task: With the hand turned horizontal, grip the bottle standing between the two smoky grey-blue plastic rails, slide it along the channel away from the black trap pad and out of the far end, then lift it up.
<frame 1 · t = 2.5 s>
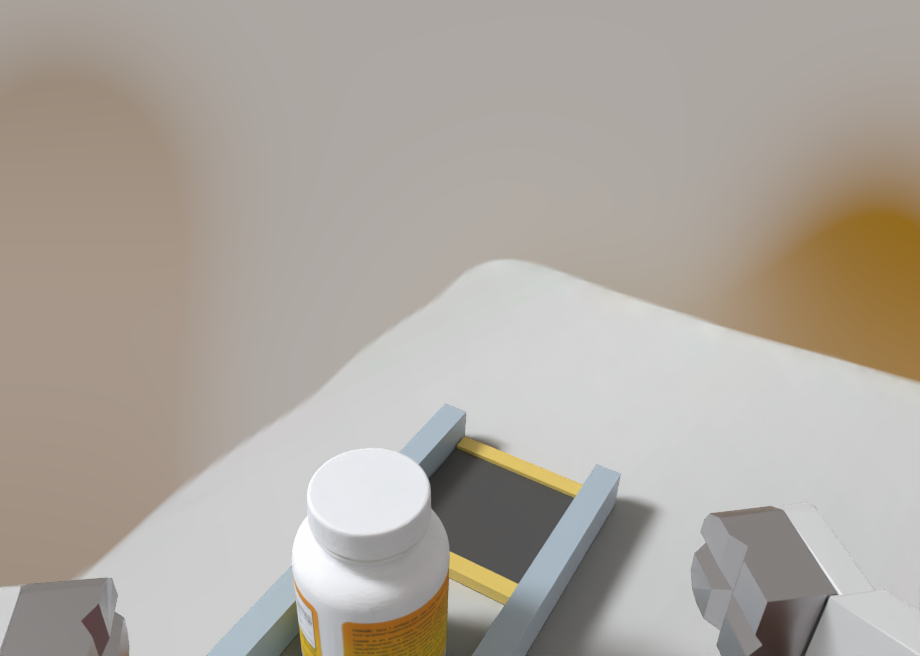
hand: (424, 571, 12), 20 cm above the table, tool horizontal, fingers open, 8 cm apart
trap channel: (390, 648, 34), on the table
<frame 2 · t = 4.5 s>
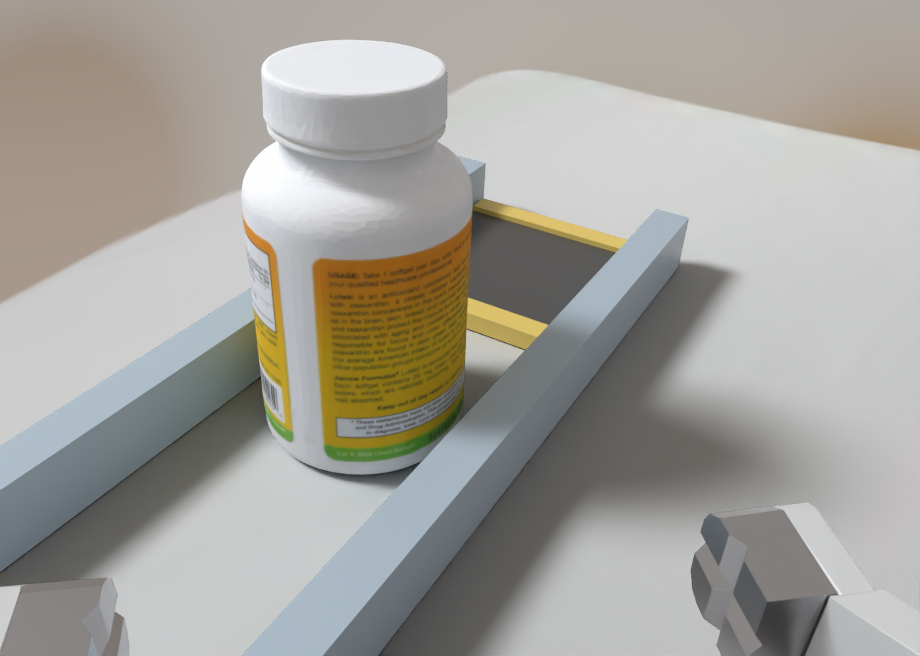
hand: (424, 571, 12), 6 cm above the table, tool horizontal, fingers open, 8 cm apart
supplement bottle: (365, 419, 24), resting in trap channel
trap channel: (385, 394, 25), on the table
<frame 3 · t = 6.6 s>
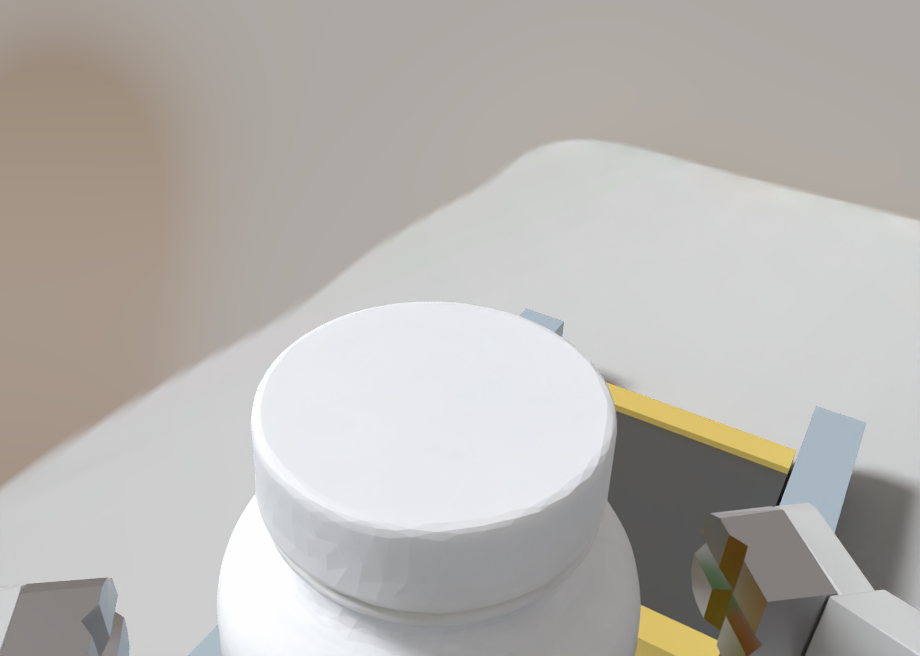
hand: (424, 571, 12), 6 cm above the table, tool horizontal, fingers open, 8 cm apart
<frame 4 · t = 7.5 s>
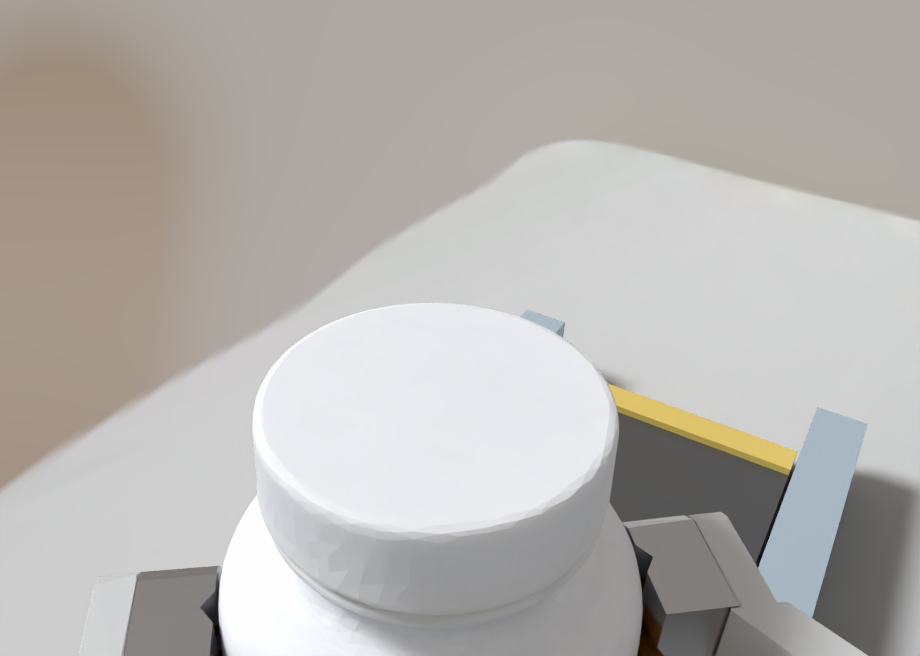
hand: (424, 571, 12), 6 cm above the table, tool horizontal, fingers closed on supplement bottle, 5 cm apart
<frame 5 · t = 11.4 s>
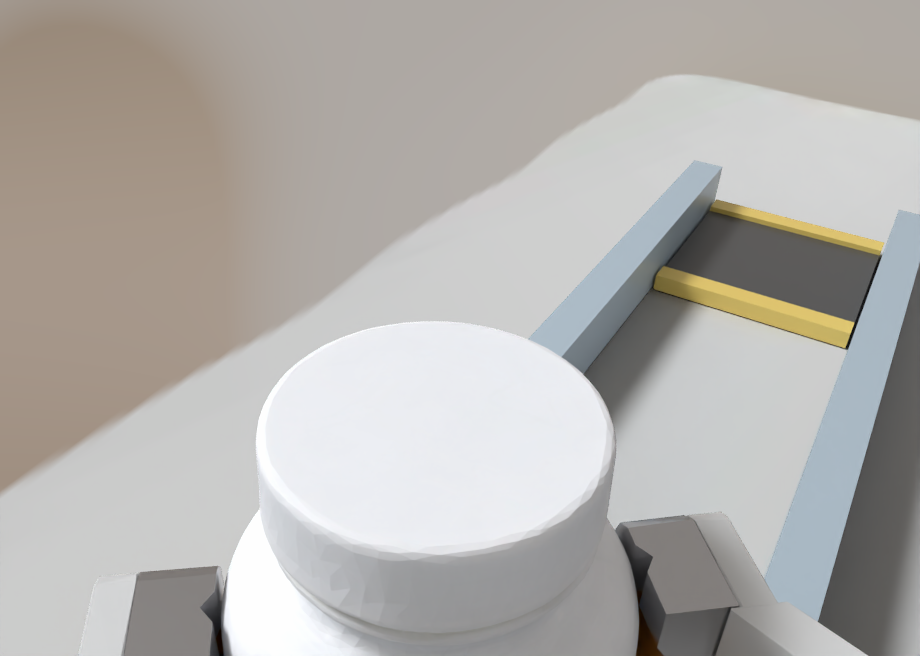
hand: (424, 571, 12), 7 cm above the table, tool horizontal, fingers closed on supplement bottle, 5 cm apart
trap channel: (710, 378, 27), on the table
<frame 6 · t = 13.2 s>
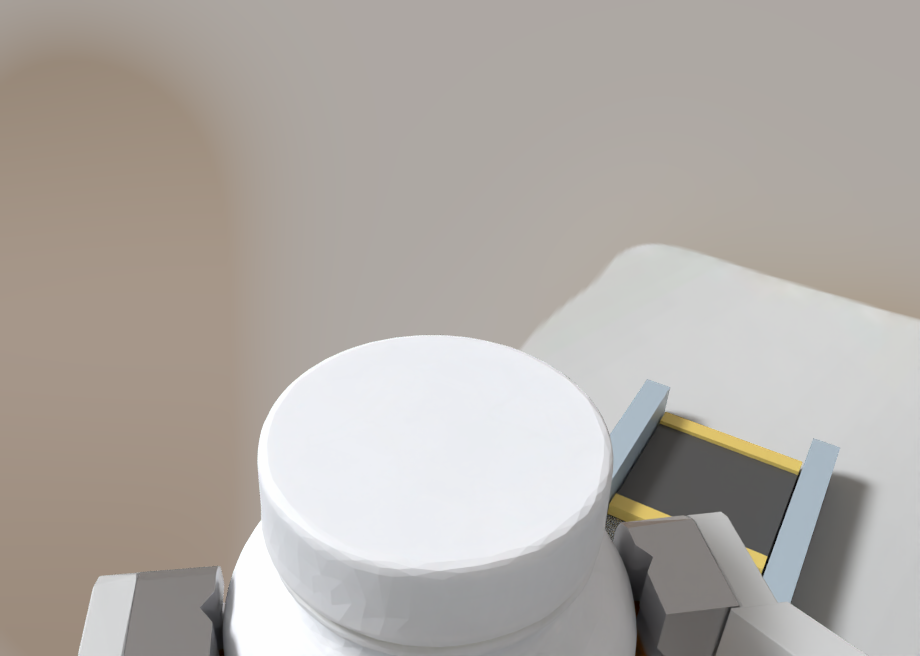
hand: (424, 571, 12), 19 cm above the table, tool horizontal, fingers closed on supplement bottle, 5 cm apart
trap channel: (647, 614, 34), on the table
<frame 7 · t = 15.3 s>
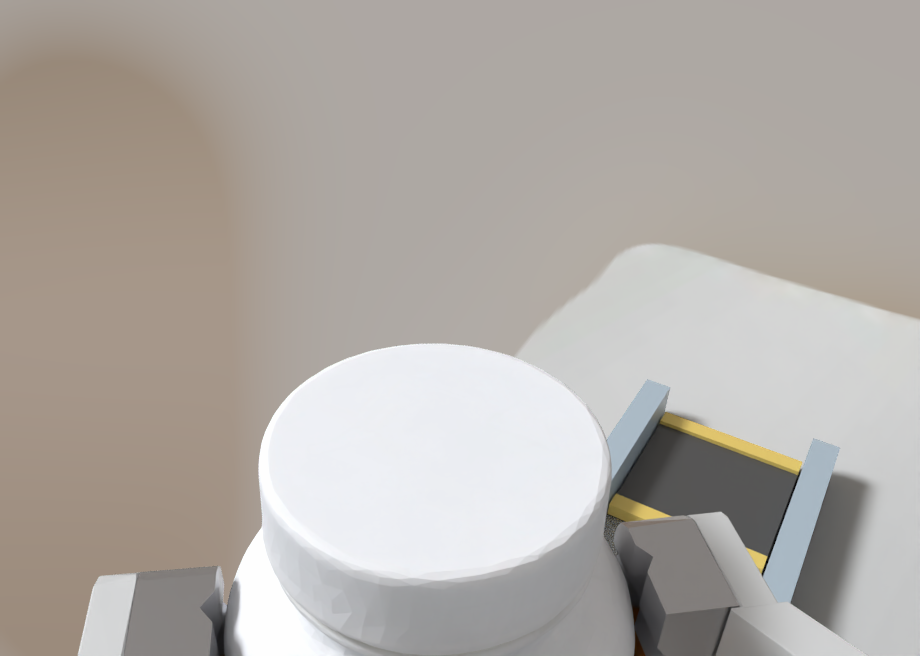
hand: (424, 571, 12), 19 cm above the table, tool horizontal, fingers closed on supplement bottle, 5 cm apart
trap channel: (647, 614, 34), on the table
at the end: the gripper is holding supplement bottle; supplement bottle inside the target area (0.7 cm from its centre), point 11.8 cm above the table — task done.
